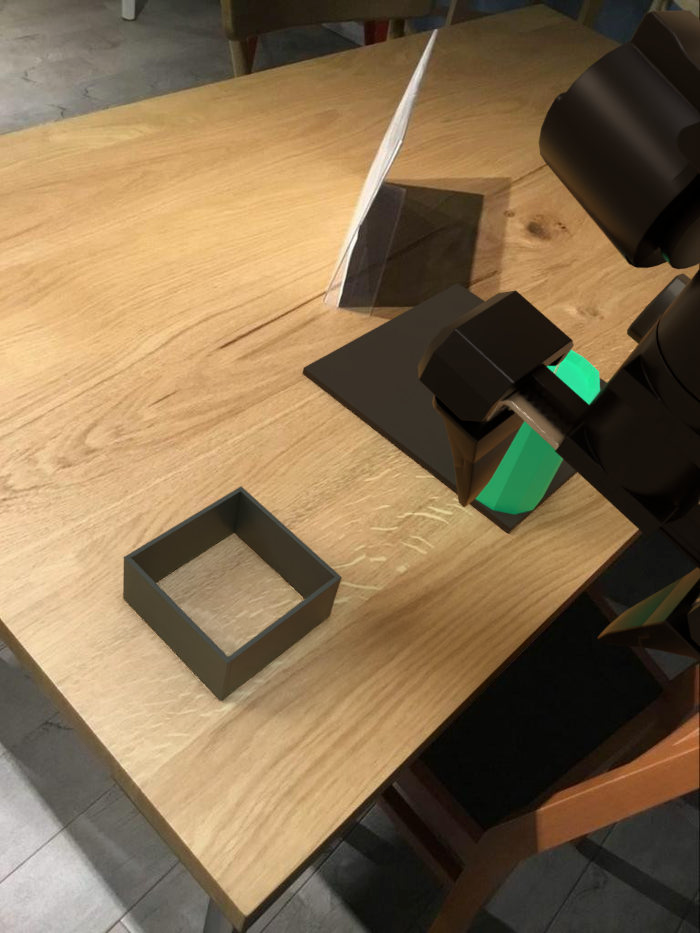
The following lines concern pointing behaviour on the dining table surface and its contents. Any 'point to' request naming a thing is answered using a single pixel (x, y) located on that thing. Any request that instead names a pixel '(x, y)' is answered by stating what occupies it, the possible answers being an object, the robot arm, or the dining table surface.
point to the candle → (536, 449)
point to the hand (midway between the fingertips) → (534, 566)
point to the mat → (408, 389)
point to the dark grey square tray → (195, 538)
